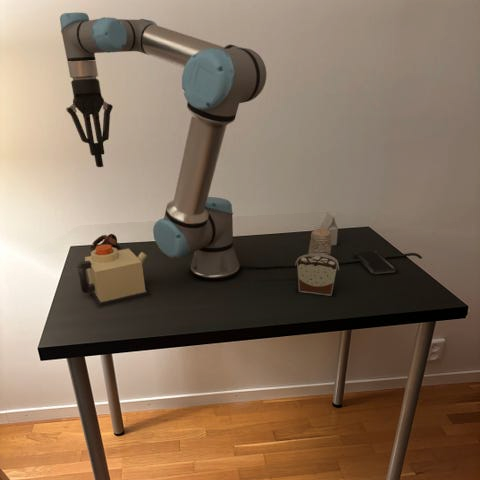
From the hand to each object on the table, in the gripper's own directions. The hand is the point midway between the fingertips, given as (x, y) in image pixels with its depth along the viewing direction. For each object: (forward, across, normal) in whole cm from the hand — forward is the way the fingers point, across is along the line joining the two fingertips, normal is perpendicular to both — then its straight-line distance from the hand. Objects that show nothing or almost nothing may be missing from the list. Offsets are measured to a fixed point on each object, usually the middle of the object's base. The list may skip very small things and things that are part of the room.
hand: (99, 166), depth 148 cm
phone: (+34, -72, +43) cm, 90 cm away
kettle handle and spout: (+32, +6, +20) cm, 38 cm away
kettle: (+32, +6, +20) cm, 38 cm away
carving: (+34, -55, +36) cm, 74 cm away
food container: (+34, -45, +48) cm, 74 cm away
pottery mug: (+31, 0, -10) cm, 33 cm away
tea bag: (+33, -72, +19) cm, 81 cm away
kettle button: (+20, +7, +18) cm, 28 cm away
